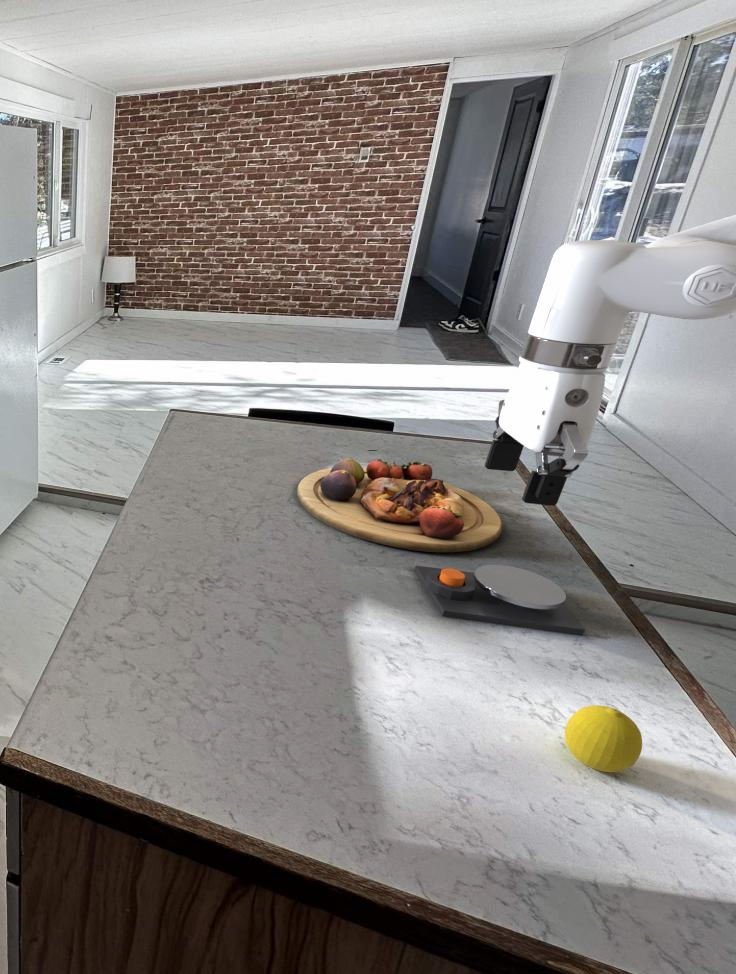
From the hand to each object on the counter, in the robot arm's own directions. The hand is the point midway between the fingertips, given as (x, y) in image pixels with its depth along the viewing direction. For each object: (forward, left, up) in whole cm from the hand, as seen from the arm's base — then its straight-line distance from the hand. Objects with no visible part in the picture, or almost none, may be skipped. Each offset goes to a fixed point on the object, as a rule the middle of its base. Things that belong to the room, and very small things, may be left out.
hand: (517, 485), depth 80 cm
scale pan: (-8, -9, -20) cm, 23 cm away
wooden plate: (-1, -38, -24) cm, 44 cm away
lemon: (-4, +21, -24) cm, 32 cm away
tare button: (0, -9, -20) cm, 22 cm away
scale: (-6, -9, -23) cm, 26 cm away
